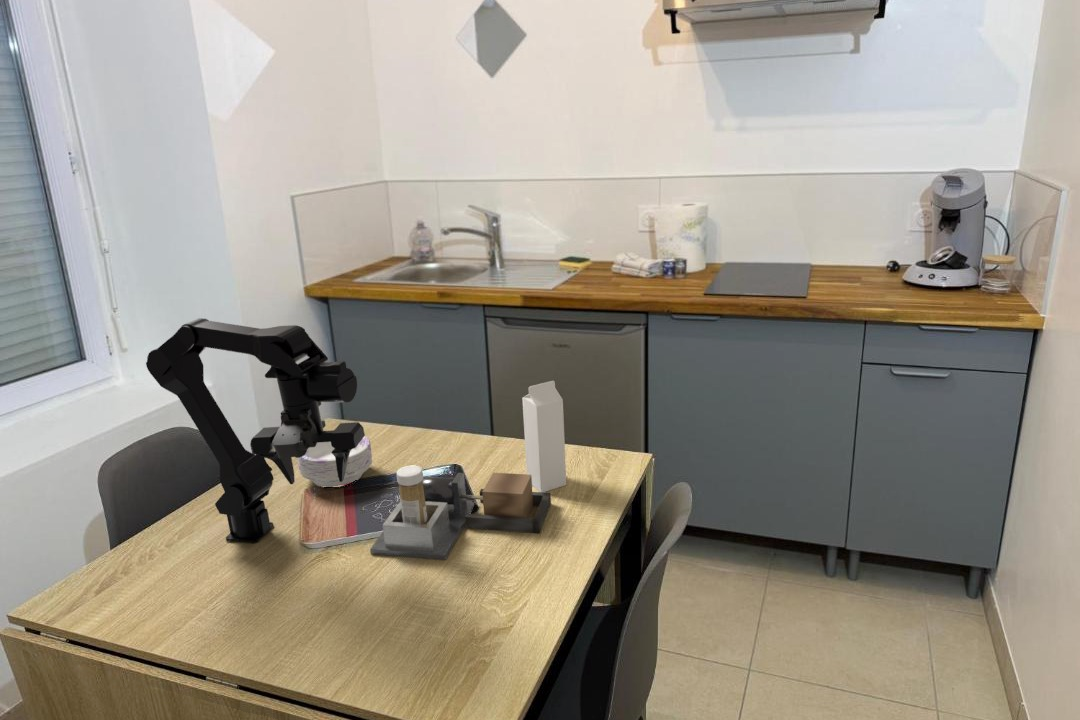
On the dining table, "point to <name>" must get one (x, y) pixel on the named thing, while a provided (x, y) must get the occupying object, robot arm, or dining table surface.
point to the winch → (429, 522)
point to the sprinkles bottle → (412, 494)
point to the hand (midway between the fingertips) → (317, 482)
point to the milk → (544, 436)
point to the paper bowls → (334, 463)
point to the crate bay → (510, 505)
